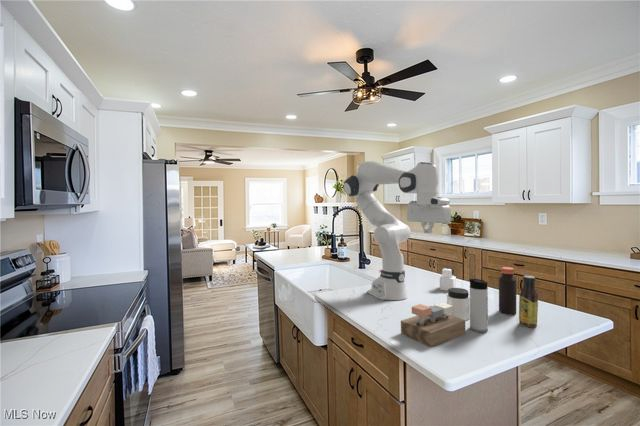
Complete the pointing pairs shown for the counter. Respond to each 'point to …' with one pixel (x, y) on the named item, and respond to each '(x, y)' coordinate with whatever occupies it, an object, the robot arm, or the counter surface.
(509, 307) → the vinegar
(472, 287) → the travel mug
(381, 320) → the counter surface
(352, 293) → the counter surface
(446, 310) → the cream block
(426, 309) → the key terracotta
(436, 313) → the key slate
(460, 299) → the jar
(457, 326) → the keypad base
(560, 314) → the counter surface
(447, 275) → the medicine bottle
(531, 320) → the sauce bottle
